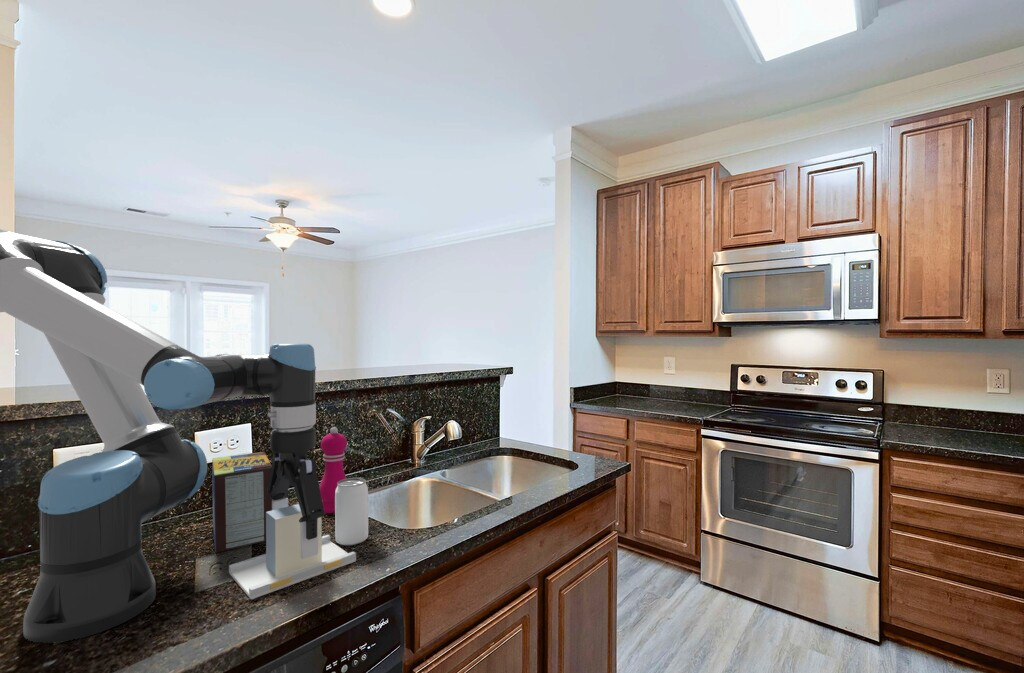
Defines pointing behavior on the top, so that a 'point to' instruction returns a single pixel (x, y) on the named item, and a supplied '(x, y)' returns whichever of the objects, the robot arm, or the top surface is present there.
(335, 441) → the pepper mill
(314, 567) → the white tray
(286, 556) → the tea box
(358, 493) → the can
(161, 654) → the top surface
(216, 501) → the protein box
